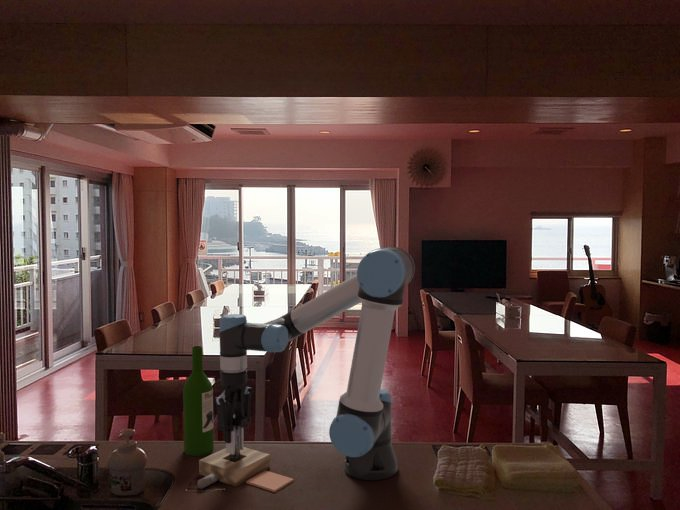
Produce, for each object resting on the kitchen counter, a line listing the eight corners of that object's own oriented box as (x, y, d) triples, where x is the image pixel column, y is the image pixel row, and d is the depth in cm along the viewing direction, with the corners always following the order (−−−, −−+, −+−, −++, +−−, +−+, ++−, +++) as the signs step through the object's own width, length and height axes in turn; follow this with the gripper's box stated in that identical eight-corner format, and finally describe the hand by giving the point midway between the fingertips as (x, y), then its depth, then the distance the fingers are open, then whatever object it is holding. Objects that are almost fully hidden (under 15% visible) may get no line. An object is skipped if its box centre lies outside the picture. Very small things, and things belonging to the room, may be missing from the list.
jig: (269, 467, 165) (269, 454, 165) (219, 495, 148) (219, 480, 148) (234, 457, 173) (233, 444, 172) (182, 482, 156) (182, 467, 156)
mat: (293, 481, 156) (293, 478, 156) (274, 492, 150) (274, 490, 150) (265, 472, 162) (265, 470, 162) (246, 483, 155) (246, 481, 155)
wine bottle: (204, 457, 173) (202, 350, 171) (178, 454, 175) (176, 349, 173) (218, 446, 181) (217, 344, 179) (193, 443, 184) (191, 343, 182)
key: (229, 461, 166) (228, 412, 165) (248, 467, 162) (247, 417, 161) (221, 465, 164) (220, 415, 163) (241, 471, 160) (240, 420, 159)
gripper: (243, 362, 170) (244, 439, 171) (203, 373, 157) (204, 457, 158) (262, 365, 166) (263, 444, 167) (222, 377, 153) (224, 463, 154)
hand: (234, 450), depth 163 cm, fingers closed on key, 3 cm apart
